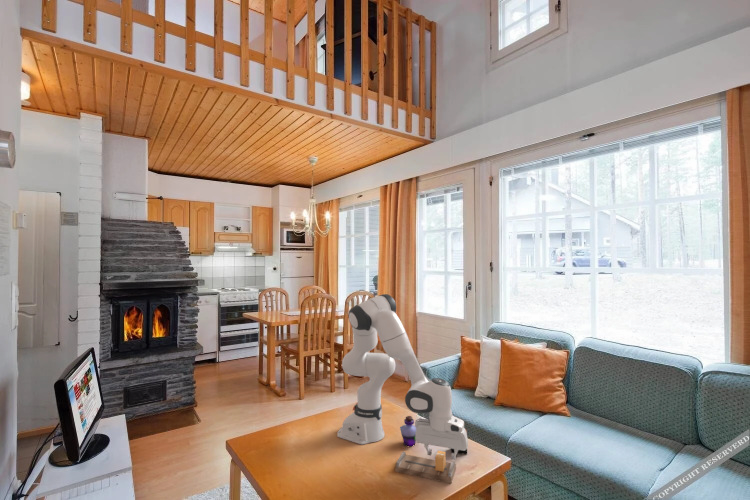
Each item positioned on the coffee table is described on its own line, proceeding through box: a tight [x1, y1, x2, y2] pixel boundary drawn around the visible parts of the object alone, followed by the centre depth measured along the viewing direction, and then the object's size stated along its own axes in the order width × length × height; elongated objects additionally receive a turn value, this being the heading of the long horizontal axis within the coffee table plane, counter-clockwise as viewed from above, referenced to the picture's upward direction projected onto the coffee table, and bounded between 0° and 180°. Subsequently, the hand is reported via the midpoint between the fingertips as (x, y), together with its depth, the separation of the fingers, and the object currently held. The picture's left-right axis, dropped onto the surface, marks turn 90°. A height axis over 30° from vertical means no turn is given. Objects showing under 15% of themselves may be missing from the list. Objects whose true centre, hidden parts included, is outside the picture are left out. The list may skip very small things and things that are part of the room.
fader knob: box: [434, 450, 447, 472], centre depth 144 cm, size 3×5×5 cm, turn 158°
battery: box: [450, 428, 468, 455], centre depth 161 cm, size 4×7×10 cm, turn 79°
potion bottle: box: [399, 415, 417, 448], centre depth 168 cm, size 9×9×12 cm
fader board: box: [394, 451, 457, 484], centre depth 146 cm, size 22×10×3 cm, turn 68°
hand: (441, 456), depth 145 cm, fingers open, 8 cm apart
